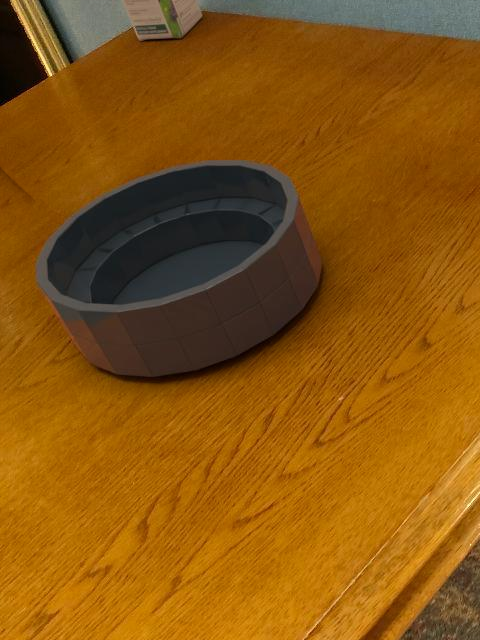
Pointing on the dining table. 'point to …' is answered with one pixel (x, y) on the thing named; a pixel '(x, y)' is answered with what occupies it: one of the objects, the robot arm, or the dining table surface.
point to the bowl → (181, 267)
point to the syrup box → (162, 17)
